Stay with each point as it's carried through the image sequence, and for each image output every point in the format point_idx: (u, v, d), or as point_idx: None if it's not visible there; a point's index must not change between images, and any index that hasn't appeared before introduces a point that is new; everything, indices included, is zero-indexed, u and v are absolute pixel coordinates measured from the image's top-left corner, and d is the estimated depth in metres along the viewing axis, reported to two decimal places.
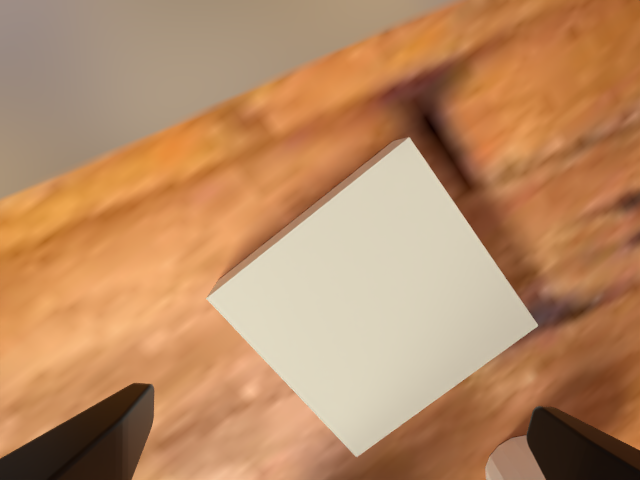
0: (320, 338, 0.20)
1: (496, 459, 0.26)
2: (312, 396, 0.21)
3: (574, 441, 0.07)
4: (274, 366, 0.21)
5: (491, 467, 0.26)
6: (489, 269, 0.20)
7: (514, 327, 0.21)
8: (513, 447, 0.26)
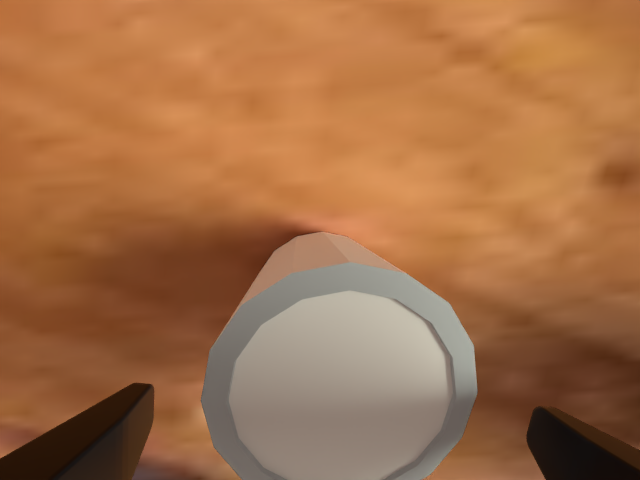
0: None
1: None
2: None
3: (574, 441, 0.07)
4: None
5: None
6: None
7: None
8: None
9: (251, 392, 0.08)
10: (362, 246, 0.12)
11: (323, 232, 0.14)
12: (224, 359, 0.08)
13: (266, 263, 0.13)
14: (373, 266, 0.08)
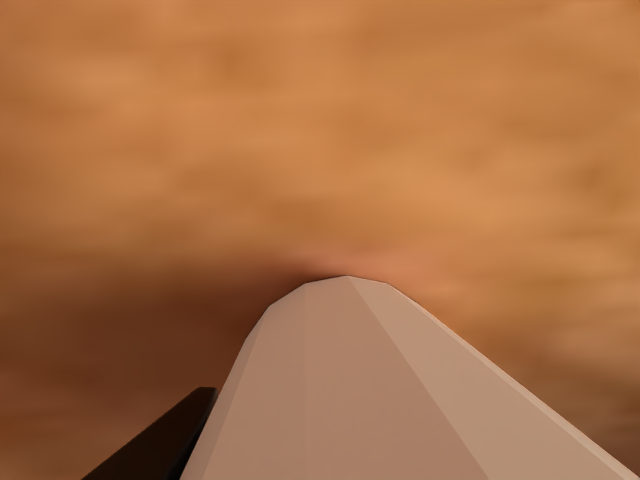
0: None
1: None
2: None
3: None
4: None
5: None
6: None
7: None
8: None
9: None
10: (432, 321, 0.06)
11: (349, 279, 0.09)
12: None
13: (251, 347, 0.07)
14: None
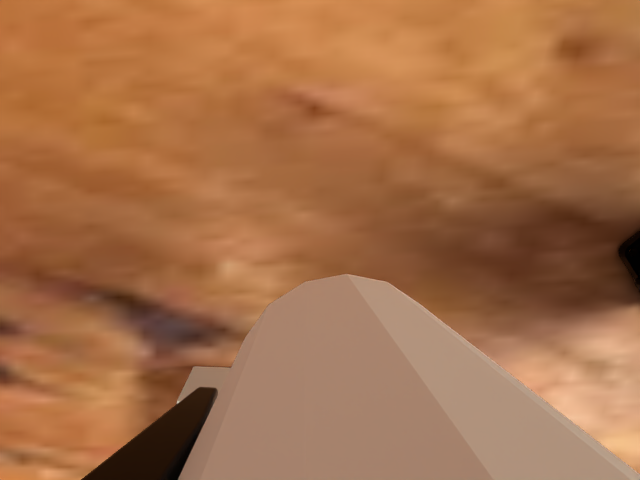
0: None
1: None
2: None
3: None
4: None
5: None
6: None
7: None
8: None
9: None
10: (431, 319, 0.06)
11: (349, 277, 0.09)
12: None
13: (251, 345, 0.07)
14: None
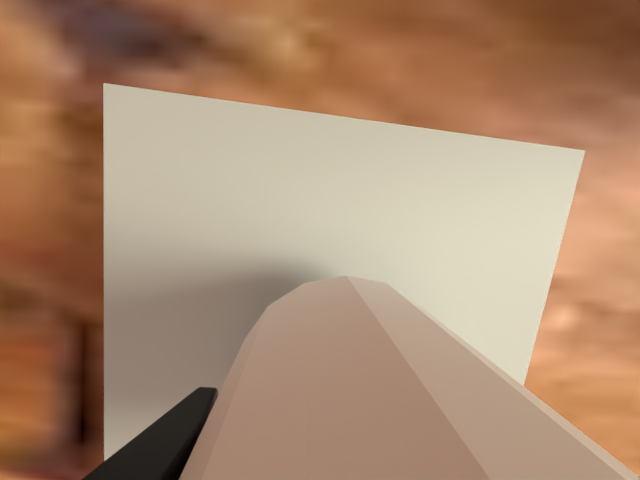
0: None
1: None
2: (525, 310, 0.12)
3: None
4: None
5: None
6: (121, 266, 0.10)
7: (150, 124, 0.10)
8: None
9: None
10: (431, 320, 0.06)
11: (348, 278, 0.09)
12: None
13: (250, 346, 0.07)
14: None
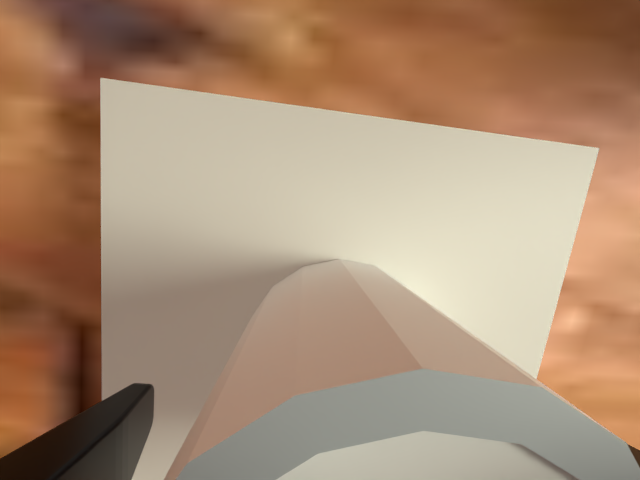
0: None
1: None
2: (536, 313, 0.11)
3: None
4: None
5: None
6: (119, 268, 0.10)
7: (149, 120, 0.09)
8: None
9: None
10: (405, 289, 0.08)
11: (341, 261, 0.10)
12: None
13: (258, 314, 0.08)
14: (470, 373, 0.04)
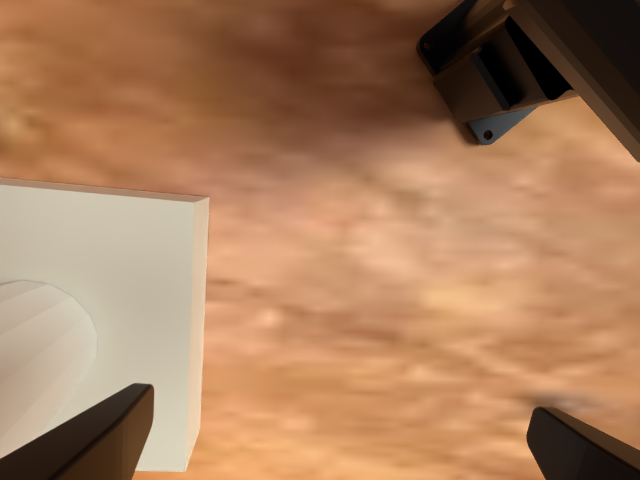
0: (116, 363, 0.17)
1: None
2: (177, 314, 0.16)
3: (574, 441, 0.07)
4: (185, 372, 0.17)
5: None
6: None
7: None
8: None
9: None
10: None
11: (14, 282, 0.15)
12: None
13: None
14: None
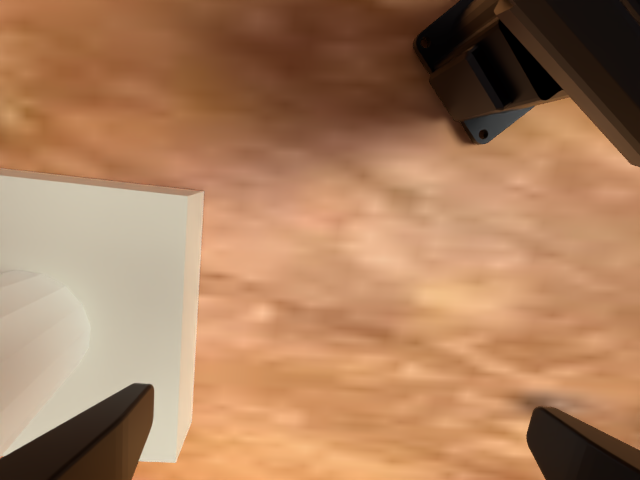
0: (108, 354, 0.17)
1: None
2: (169, 306, 0.17)
3: (574, 441, 0.07)
4: (176, 364, 0.17)
5: None
6: None
7: None
8: None
9: None
10: None
11: (8, 271, 0.15)
12: None
13: None
14: None
